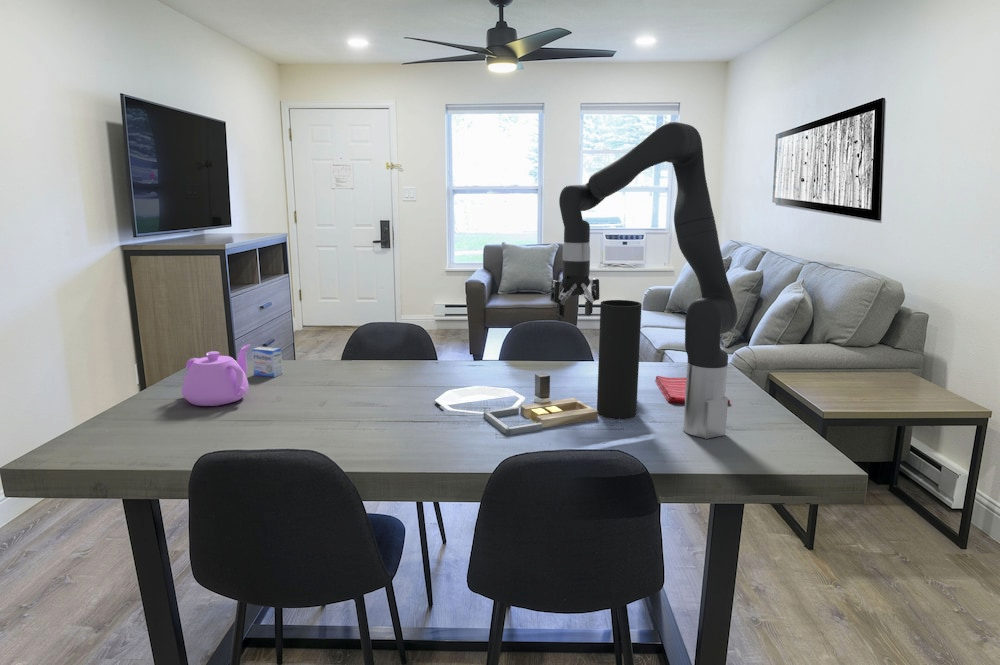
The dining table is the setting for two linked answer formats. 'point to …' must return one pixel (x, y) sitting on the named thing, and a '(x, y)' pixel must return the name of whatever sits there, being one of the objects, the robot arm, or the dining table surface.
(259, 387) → the dining table surface
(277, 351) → the medicine box
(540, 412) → the yellow rectangular block
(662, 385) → the dish towel
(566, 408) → the slot board
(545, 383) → the stepped metal block
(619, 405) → the vase
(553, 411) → the yellow block
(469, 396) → the plate
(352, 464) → the dining table surface
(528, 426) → the tray
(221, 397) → the teapot
